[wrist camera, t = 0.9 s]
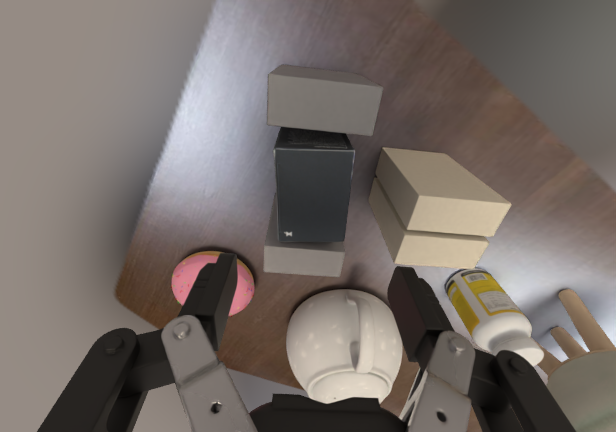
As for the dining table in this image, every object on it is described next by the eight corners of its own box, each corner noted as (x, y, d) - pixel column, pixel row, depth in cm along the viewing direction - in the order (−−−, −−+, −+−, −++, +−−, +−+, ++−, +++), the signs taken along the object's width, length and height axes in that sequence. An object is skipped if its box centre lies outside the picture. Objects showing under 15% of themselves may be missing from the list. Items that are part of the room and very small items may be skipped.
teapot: (419, 323, 44) (459, 420, 33) (330, 363, 50) (337, 457, 39) (355, 257, 36) (378, 354, 25) (259, 314, 43) (242, 413, 31)
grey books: (281, 64, 24) (267, 73, 16) (357, 73, 25) (384, 87, 16) (274, 213, 33) (263, 272, 24) (330, 218, 33) (339, 277, 25)
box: (333, 187, 31) (344, 244, 22) (284, 185, 31) (275, 243, 22) (339, 115, 27) (357, 150, 18) (282, 114, 26) (271, 148, 18)
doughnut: (207, 230, 34) (195, 251, 30) (272, 274, 38) (269, 297, 35) (163, 275, 38) (149, 298, 34) (227, 310, 42) (220, 334, 39)
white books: (381, 146, 28) (419, 195, 19) (445, 153, 29) (512, 204, 19) (368, 200, 32) (394, 263, 22) (424, 205, 32) (473, 269, 23)
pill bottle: (450, 302, 42) (495, 381, 32) (438, 277, 39) (484, 355, 29) (494, 287, 40) (556, 366, 30) (485, 259, 37) (550, 336, 27)
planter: (589, 262, 37) (880, 484, 18) (602, 321, 44) (823, 525, 25) (473, 308, 42) (610, 519, 23) (502, 354, 49) (624, 545, 30)
